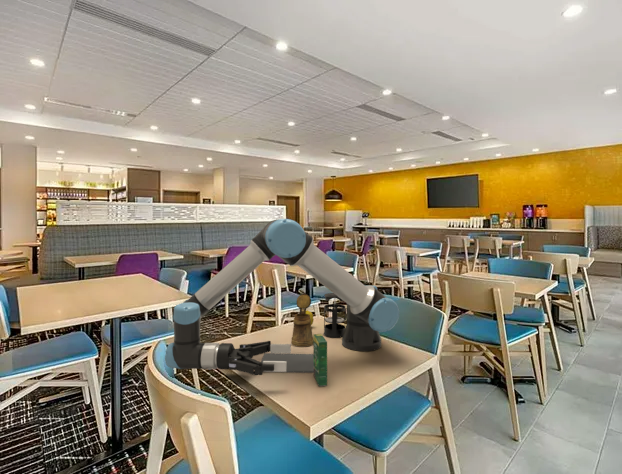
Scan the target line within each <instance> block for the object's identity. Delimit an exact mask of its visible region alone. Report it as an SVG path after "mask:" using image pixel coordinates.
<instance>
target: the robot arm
mask: <svg viewBox="0 0 622 474" xmlns="http://www.w3.org/2000/svg"><path fill="white" fill-rule="evenodd" d="M275 256H277V257H279V259H281V260H282V261H283V262H285V263H286V264H287V265H289V266H290V267H296V266H298V267H299V268H300V269H302V270H303V271H305V272H306V273H307V274H308V275H310V276H311V277H312V278H313V279H315V280H316V281H317V282H318V283H320V284H321V285H322V286H324V287H325V288H327V289H328V290H329V291H330V292H331V293H334V294H335V295H337V296H338V297H339V298H341V299H342V300H343V301H342V302H345V303H346V324H345V331H344V334H343V337H341V343H342V344H341V345H342V346H343V347H344V348H346V349H349V350H352V351H357V352H371V351H376V350H379V349H380V348H381V347H382V338H381V335H380V333H385V332H388V331H391V330H392V329H393V328H394V327H395V326H396V325H397V323H398V321H399V318H400V309H399V306H398V304H397V302H396V301H394V299H392V298H390V297H387V296H386V295H384V294H383V293H382V292H381V291H379V290H378V287H377V286H376V285H371V284H370V285H369V284H368V285H366V284H363V283H362V282H361V281H360V280H359V279H357V278H356V277H355V276H354V275H352V274H351V273H350V272H348V271H347V270H346V269H345V268H343V266H341V265H340V264H339V263H337V262H336V261H335V260H334V259H332V258H330V256H329V255H327V254H326V253H325V252H324V251H323V250H321V249H319V247H317V246H316V245H315V244H314V237H312V236H311V235H310V234H308V233H307V232H306V231H305V230H304V229H303V227H302V225H300V223H298V222H297V221H296V220H293V219H290V218H280V219H273V220H270V221H269V222H268V223H266V225H265V226H263V228H262V229H261V230H260V231H259V232H258V233H257V234H256V235H255V236H254V237H253V238H252V239H251V240H250V244H249V245H248V246H247V247H246V248H245V249H244V250H243V251H241V252H240V253H239V254H238V255H236V256H235V257H234V259H232V260H231V261H230V262H229V263H227V264H226V266H224V267H223V268H222V269H221V270H220V271H219V272H217V273H216V274H215V275H214V276H213V277H212V278H211V279H210V280H209V281H207V282H206V283H205V284H204V285H202V287H200V288H199V289H198V290H197V291H196V292H195V293H194V294H193V295H192V296H190V297H189V298H188V299H186V300H184V301H183V302H181V303H179V304H178V303H177V304H176V305H175V306H174V308H173V316H172V318H173V337H174V339H173V342H170V343H169V344H168V345H167V347H166V350H165V355H164V361H165V364H166V367H168V368H172V369H179V370H185V369H187V370H188V369H193V370H194V369H197V370H198V369H199V370H200V369H201V370H203V369H204V370H209V371H211V370H216V369H218V370H231V371H238V372H242V373H246V374H249V375H253V376H262V375H264V374H263V373H264V372H263V371H267V372H266V373H287V372H286V361H263V363H262V362H261V361H259V360H257V359H254V357H256V356H259V355H262V354H263V355H264V353H284V354H292V347H291V346H292V343H271V340H267V341H261V342H254V343H247V344H246V343H245V344H244V343H243V344H239V347H238V348H235V346H234V344H233V343H230V342H229V343H227V342H221V343H220V342H201V322H202V321H201V319H202V318H203V317H204V316H205V315H206V314H207V313H208V312H209V311H211V309H212V308H213V307H214V306H216V305H217V304H218V303H219V302H220V301H221V300H222V299H223V298H225V297H226V295H228V294H229V293H230V292H231V291H232V290H233V289H235V288H236V287H237V286H238V285H239V284H240V283H241V282H243V280H245V279H246V278H247V277H248V276H249V275H251V273H253V272H254V271H255V270H256V269H257V268H258V267H259V266H261V264H263V263H264V262H265V261H270V260H272V259H273V257H275Z"/></svg>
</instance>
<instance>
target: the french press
mask: <svg viewBox="0 0 622 474" xmlns="http://www.w3.org/2000/svg"><path fill="white" fill-rule="evenodd" d="M323 296H324V297H325V298H324V299H325V301H326V302H329V301H330V300H332V299H333V300H334V303H329V304H325V305H324V306H323V308H324V309H323V337H327V338H330V339H340V338H341V339H342V337H343V334H344V331H345V328H346V325H345V324H343V323H345V321H346V318H345V317H340V316H338V313H343V312H346V305H344V304H341V303H340V304H339V303H336V300H338V301H340V302H344V301H343V300H342V299H341V298H339V297H338V296H337V295H335V294H334V293H333V292H329V293H325V294H324V295H323ZM326 312H328V313H331V316H328V317H326ZM326 323H327V324H326Z"/></svg>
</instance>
